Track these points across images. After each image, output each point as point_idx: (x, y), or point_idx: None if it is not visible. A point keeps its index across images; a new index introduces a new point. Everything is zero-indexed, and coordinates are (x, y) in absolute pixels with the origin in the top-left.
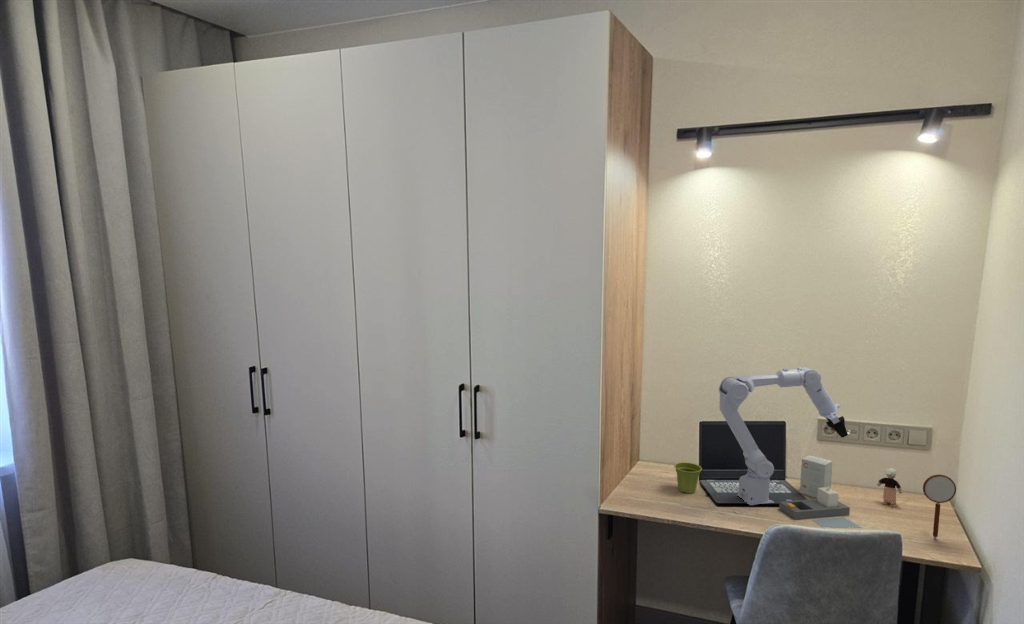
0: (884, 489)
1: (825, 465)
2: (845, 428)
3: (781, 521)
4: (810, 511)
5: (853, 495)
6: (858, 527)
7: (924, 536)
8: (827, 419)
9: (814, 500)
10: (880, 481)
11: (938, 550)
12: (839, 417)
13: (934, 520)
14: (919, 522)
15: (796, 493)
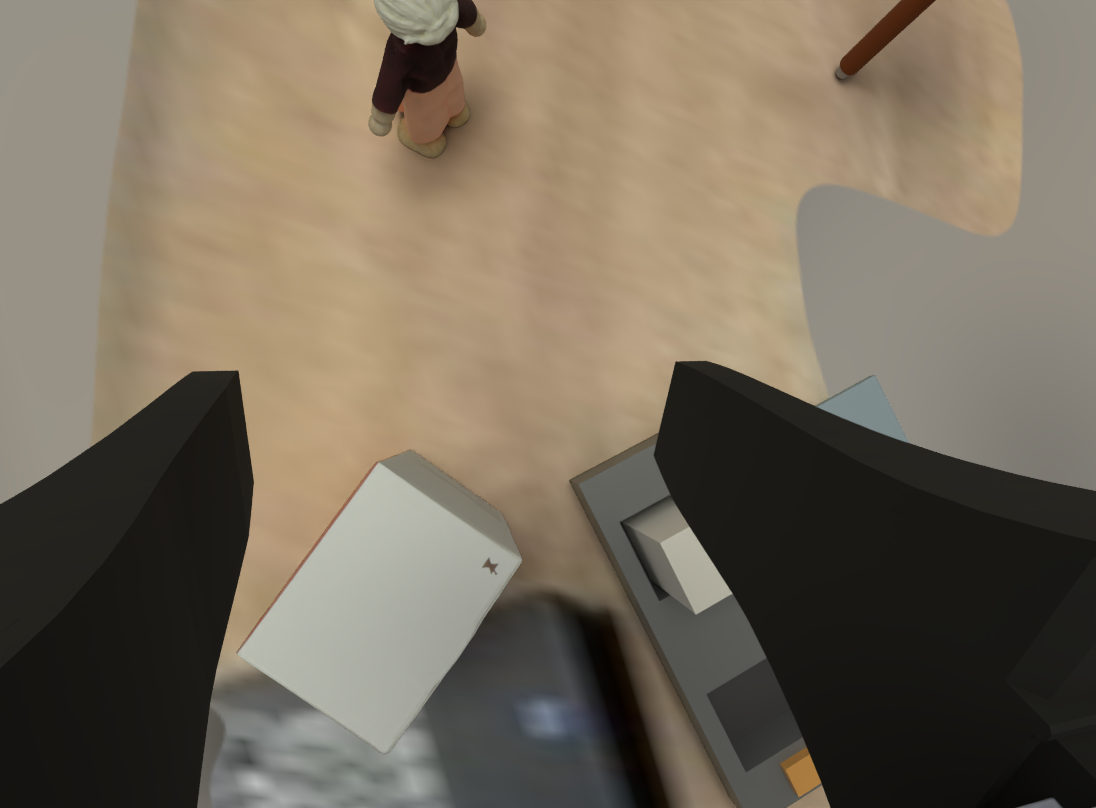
0: (412, 106)
1: (516, 553)
2: (839, 421)
3: None
4: None
5: (339, 294)
6: (845, 412)
7: (824, 112)
8: (200, 733)
9: (663, 605)
10: (398, 105)
11: (955, 115)
12: (1084, 651)
13: (906, 25)
14: (655, 61)
15: None
